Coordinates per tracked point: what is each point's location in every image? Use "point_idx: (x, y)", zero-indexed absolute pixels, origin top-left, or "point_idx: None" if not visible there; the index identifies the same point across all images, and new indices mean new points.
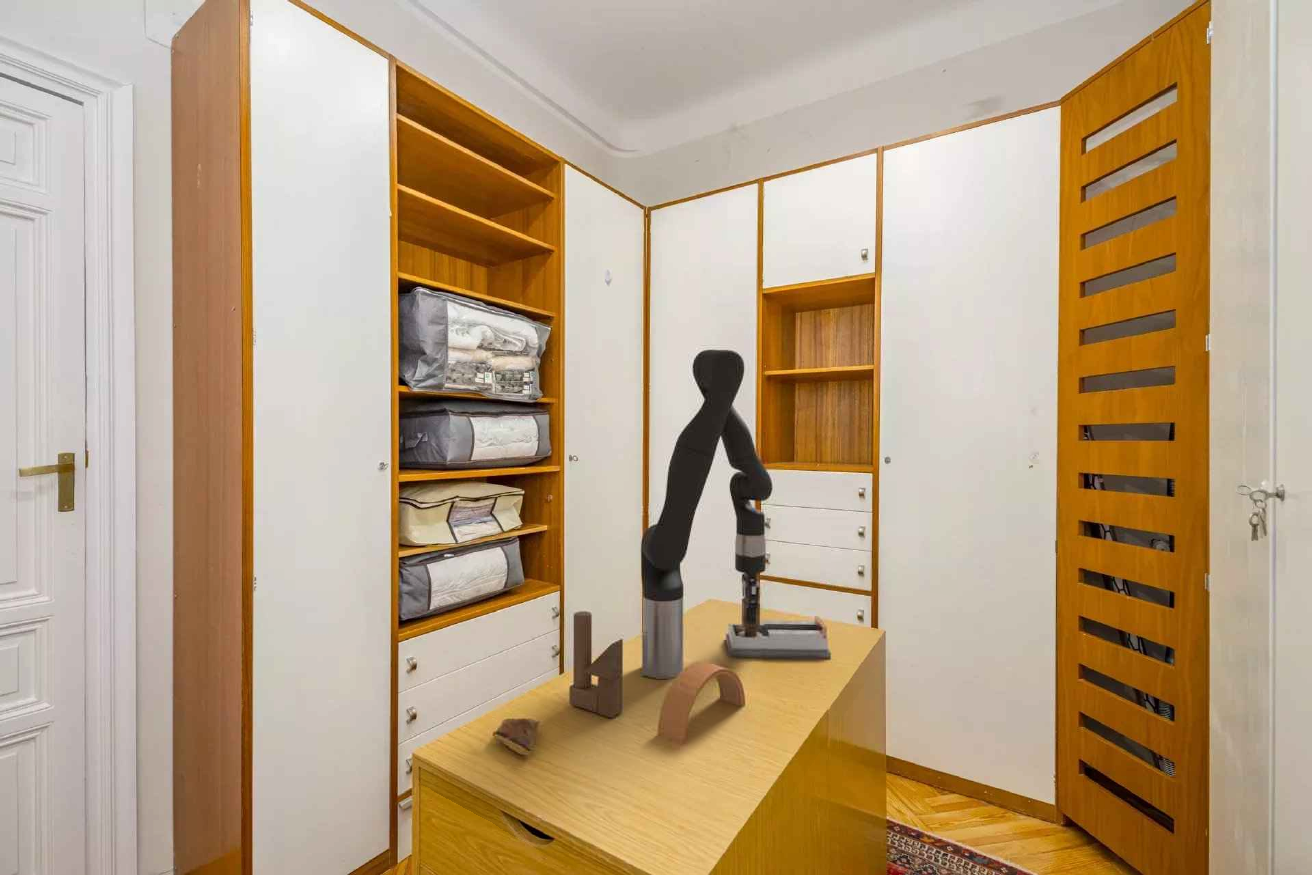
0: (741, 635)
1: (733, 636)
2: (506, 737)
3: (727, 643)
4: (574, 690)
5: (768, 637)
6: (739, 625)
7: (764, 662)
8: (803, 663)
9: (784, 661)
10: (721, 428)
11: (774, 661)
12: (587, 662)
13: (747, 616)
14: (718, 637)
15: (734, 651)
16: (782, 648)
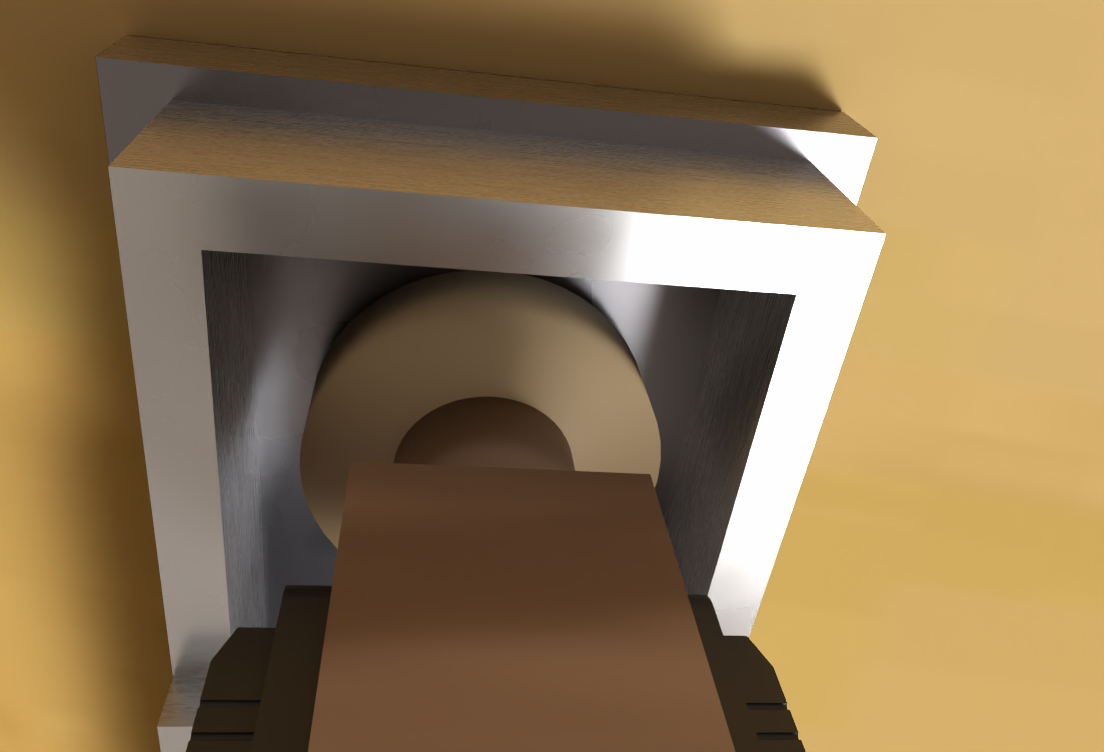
0: (458, 348)
1: (159, 205)
2: None
3: (563, 93)
4: None
5: (185, 670)
6: (763, 399)
7: (25, 431)
8: (77, 729)
9: (99, 607)
10: None
11: (80, 527)
12: None
13: (265, 689)
14: (955, 16)
15: (107, 127)
16: None
